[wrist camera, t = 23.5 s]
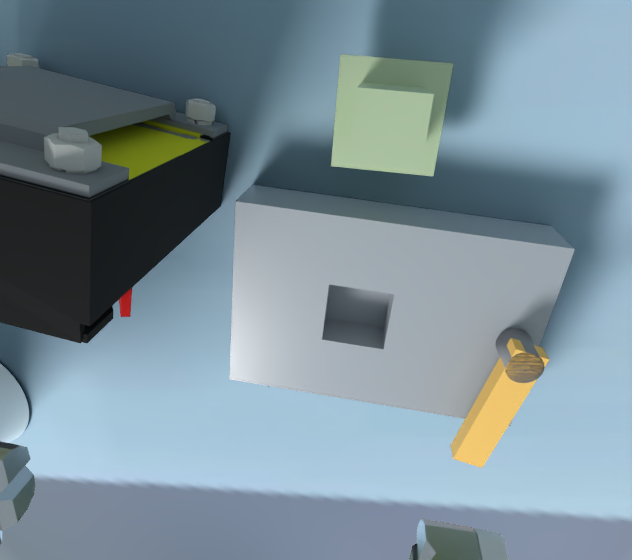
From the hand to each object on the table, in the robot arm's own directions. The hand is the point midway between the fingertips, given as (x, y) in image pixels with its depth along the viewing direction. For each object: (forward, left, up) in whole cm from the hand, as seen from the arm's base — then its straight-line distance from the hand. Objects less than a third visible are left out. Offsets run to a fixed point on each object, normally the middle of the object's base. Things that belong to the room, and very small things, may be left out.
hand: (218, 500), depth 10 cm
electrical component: (-18, 0, -31) cm, 36 cm away
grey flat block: (+5, -10, -31) cm, 33 cm away
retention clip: (+14, -14, -26) cm, 33 cm away
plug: (+3, +5, -31) cm, 32 cm away
